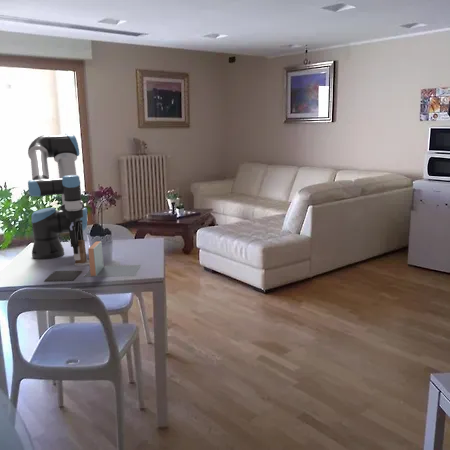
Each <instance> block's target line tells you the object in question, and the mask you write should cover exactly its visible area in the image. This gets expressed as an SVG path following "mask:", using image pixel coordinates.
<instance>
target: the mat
mask: <svg viewBox="0 0 450 450" xmlns="http://www.w3.org/2000/svg"><path fill="white" fill-rule="evenodd" d="M141 266H142V264H131V265H130V264H128V265H127V264H126V265H125V264H124V265H122V264H121V265H104V267H103V268H102V270H101V271H100V272H99V273H98V275H97V276H91V273H90V269H89V270H88V271H87V273H85V275H84V276H83V278H100V277H101V278H104V277H109V278H111V277H135V276H136V275H137V273H138V272H139V270H140V268H141Z"/></svg>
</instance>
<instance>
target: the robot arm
mask: <svg viewBox="0 0 450 450" xmlns="http://www.w3.org/2000/svg"><path fill="white" fill-rule="evenodd" d="M27 155H28V158H29V159H30V166H31V168H30V169H31V177H32V179H31V180H28V181H27V187H28V194H29V196H30V197H45V196H57V195H61V200H62V201H61V202H62V204H61V205H60V207H59V210H58V209H57V208H55V207H45V208H41V209H38V210H35V211H33V212H32V214H31V226H32V232H33V233H32V235H33V247H32V249H31V256H32V258H33V259H37V260H48V259H54V258H58V257H61V256H63V255H64V254H65V249H64V247H63V245H62V242H61V240H60V235H59V234H69V241H70V247H71V248H72V252H73V260H74V261H75V260H81V258H80V249H79V246H78V240H85V239H84V231H86V230H87V228H88V208H87V207H84V201H83V200H82V191H81V180H80V176H79V175H78V174H77V168H76V161H77V160H78V157H79V156H80V149H79V143H78V140H77V137H76V136H75V135H74V134H72V133H71V134H68V133H65V134H44V135H39V136H37V137H36V138H35V139H34V140H33V141H31V143H30V144H29V146H28V150H27ZM48 158H53V159H54V162H56V163H57V168H58V169H57V170H58V178H50V172H49V164H48Z"/></svg>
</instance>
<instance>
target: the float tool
mask: <svg viewBox="0 0 450 450" xmlns="http://www.w3.org/2000/svg"><path fill="white" fill-rule="evenodd" d="M85 241H86V240H85V239H84V240H78V246H79V249H80V258H81V260H74V261H75V262H74V265H73V266H75V267H76V266H79V267H80V266H90V262H89V258H87V252H86V242H85Z"/></svg>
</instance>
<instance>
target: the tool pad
mask: <svg viewBox="0 0 450 450" xmlns="http://www.w3.org/2000/svg"><path fill="white" fill-rule="evenodd" d="M81 273H82V270H54V271H53V272H51V274H50V275H48V276H47V277H46V278H45V279H43V281H44V282H45V283H47V282H49V283H50V282H73V281H75V280H76V279H77V278H78V276H80V274H81Z"/></svg>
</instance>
